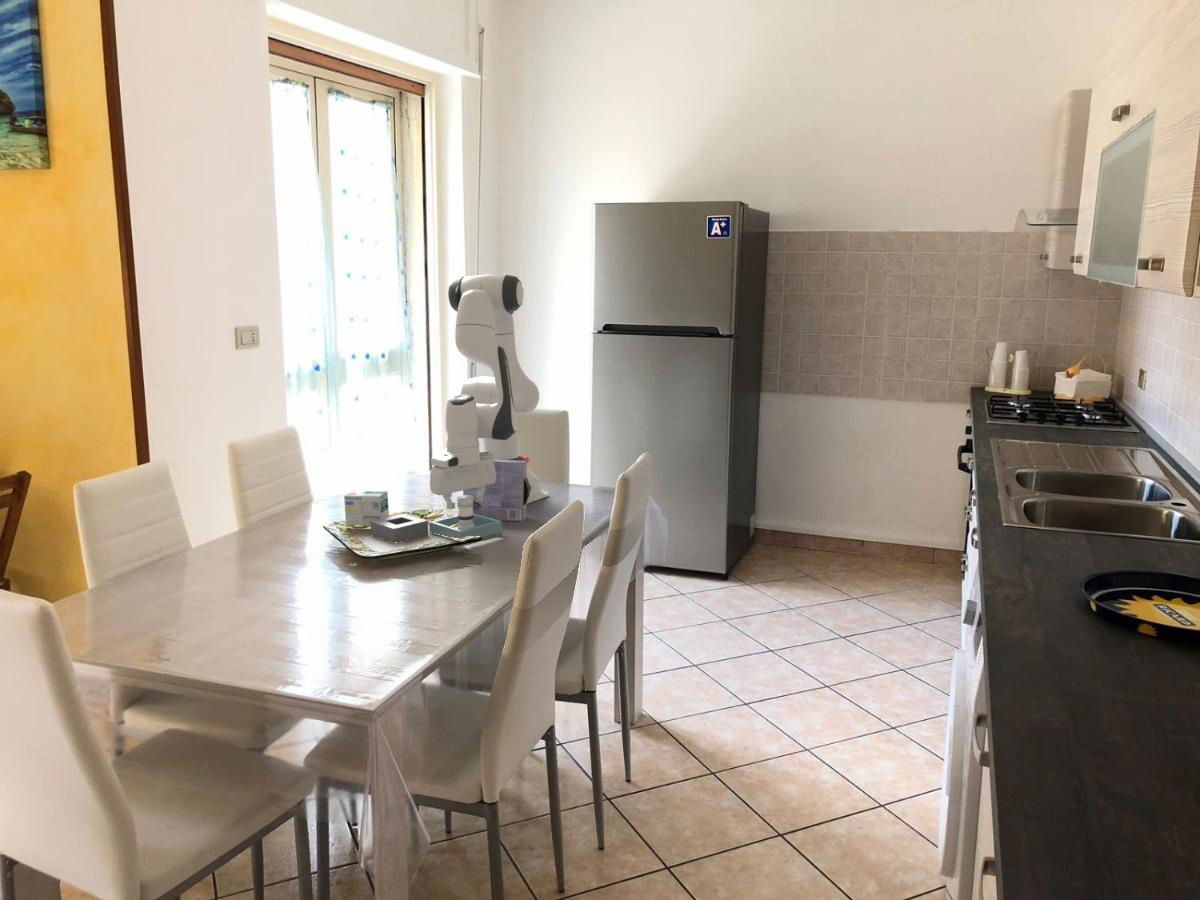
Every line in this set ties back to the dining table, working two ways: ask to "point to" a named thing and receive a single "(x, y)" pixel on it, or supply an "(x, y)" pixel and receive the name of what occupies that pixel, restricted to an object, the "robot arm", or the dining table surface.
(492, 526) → the parts tray
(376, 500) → the light bulb box
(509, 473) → the cake pan box
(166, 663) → the dining table surface
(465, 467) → the robot arm
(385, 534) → the bulb socket block
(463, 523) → the white light bulb
